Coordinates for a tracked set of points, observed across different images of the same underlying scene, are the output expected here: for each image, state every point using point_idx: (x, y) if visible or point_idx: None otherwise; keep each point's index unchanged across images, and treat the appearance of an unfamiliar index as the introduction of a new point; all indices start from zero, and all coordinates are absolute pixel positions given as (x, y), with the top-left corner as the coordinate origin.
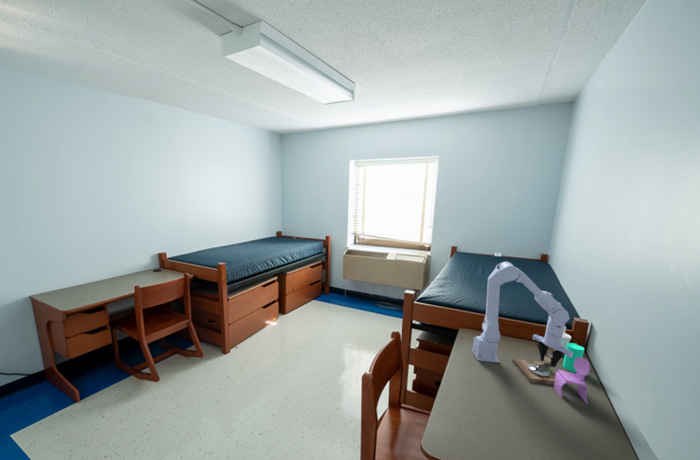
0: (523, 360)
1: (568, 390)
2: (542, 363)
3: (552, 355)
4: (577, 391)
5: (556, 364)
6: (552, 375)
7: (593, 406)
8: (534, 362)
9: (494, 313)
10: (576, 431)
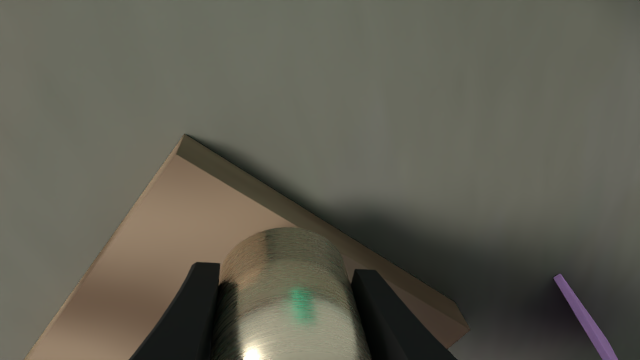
0: (54, 348)
1: (495, 317)
2: (194, 197)
3: (320, 354)
4: (557, 283)
5: (390, 289)
6: None
7: (636, 330)
8: (134, 270)
9: None
10: None
